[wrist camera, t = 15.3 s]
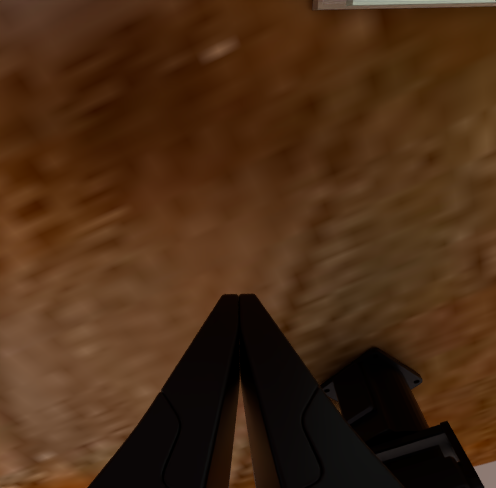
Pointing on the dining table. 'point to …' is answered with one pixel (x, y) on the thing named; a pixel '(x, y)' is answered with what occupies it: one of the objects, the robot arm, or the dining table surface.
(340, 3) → the box
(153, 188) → the dining table surface
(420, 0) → the lid
